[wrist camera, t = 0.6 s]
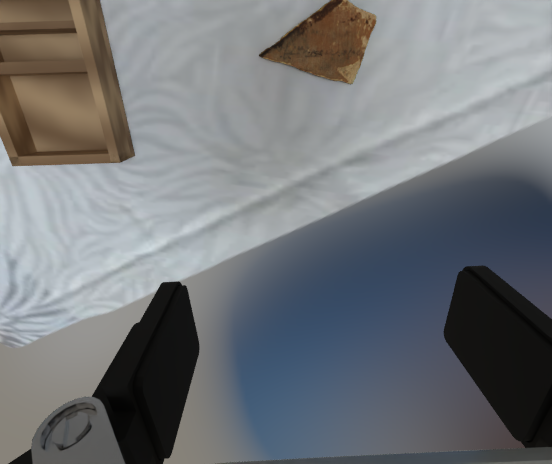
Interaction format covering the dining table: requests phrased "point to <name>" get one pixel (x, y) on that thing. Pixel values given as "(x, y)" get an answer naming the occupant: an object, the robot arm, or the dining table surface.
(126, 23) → the dining table surface
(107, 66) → the wooden shelf
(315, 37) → the shard
